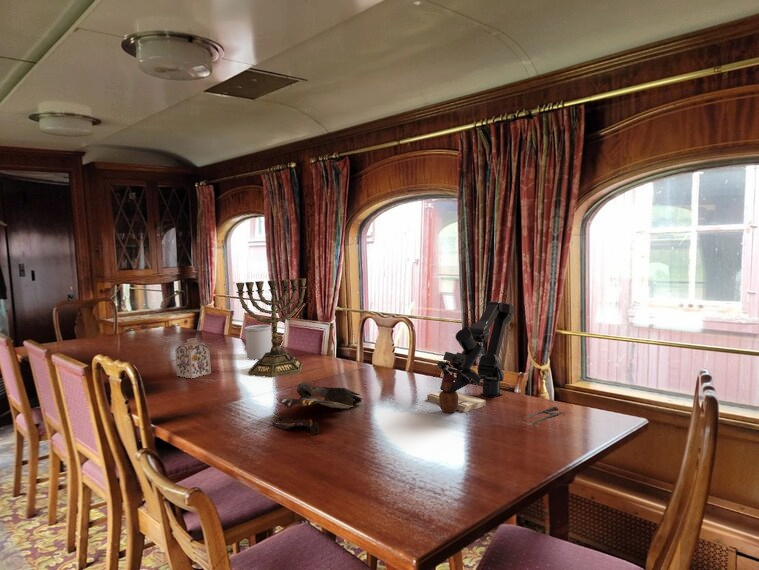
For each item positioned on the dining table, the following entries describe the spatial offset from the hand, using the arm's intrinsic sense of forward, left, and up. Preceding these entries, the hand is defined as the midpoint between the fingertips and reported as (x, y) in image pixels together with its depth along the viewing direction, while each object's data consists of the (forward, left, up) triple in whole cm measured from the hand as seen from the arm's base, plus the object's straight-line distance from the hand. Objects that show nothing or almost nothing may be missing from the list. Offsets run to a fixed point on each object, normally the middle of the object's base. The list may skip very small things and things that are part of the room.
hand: (445, 391), depth 181 cm
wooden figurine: (-1, 0, -8) cm, 8 cm away
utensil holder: (+13, -139, -8) cm, 140 cm away
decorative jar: (+54, -122, -8) cm, 133 cm away
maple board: (-11, -6, -8) cm, 14 cm away
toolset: (+34, -25, -8) cm, 43 cm away
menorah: (+19, -103, -8) cm, 105 cm away
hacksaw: (-20, +26, -8) cm, 34 cm away
